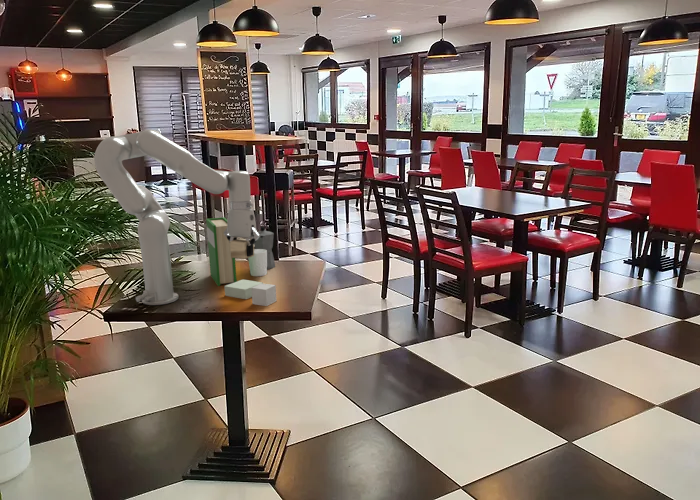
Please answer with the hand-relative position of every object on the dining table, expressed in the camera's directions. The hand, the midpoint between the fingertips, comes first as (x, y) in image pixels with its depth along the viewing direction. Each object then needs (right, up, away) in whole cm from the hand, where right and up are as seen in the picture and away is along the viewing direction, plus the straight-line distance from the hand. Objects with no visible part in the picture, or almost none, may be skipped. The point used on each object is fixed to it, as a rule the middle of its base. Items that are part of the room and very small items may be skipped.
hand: (242, 254), depth 208 cm
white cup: (+1, -9, +30) cm, 31 cm away
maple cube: (0, -1, 0) cm, 1 cm away
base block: (0, -15, +4) cm, 15 cm away
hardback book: (-12, -11, +23) cm, 28 cm away
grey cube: (+9, -17, -7) cm, 21 cm away
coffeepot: (+2, -6, +43) cm, 43 cm away
